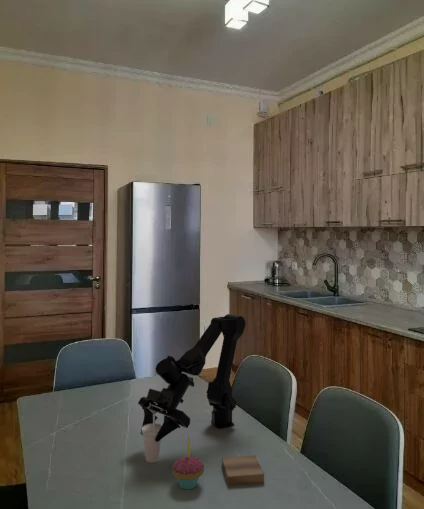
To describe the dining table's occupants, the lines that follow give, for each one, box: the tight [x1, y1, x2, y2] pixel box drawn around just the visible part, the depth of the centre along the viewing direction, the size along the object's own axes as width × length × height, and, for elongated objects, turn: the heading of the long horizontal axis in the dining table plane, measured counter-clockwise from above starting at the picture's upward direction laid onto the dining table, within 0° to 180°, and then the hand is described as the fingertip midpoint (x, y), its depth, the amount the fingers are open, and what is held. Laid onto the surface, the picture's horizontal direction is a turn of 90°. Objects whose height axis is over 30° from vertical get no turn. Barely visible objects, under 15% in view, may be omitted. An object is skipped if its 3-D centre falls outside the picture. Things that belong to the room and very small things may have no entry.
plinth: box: [221, 455, 265, 487], centre depth 120 cm, size 10×10×2 cm
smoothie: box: [141, 413, 163, 463], centre depth 127 cm, size 6×6×14 cm
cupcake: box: [172, 436, 205, 490], centre depth 114 cm, size 9×8×12 cm
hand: (148, 437), depth 126 cm, fingers closed on smoothie, 6 cm apart
